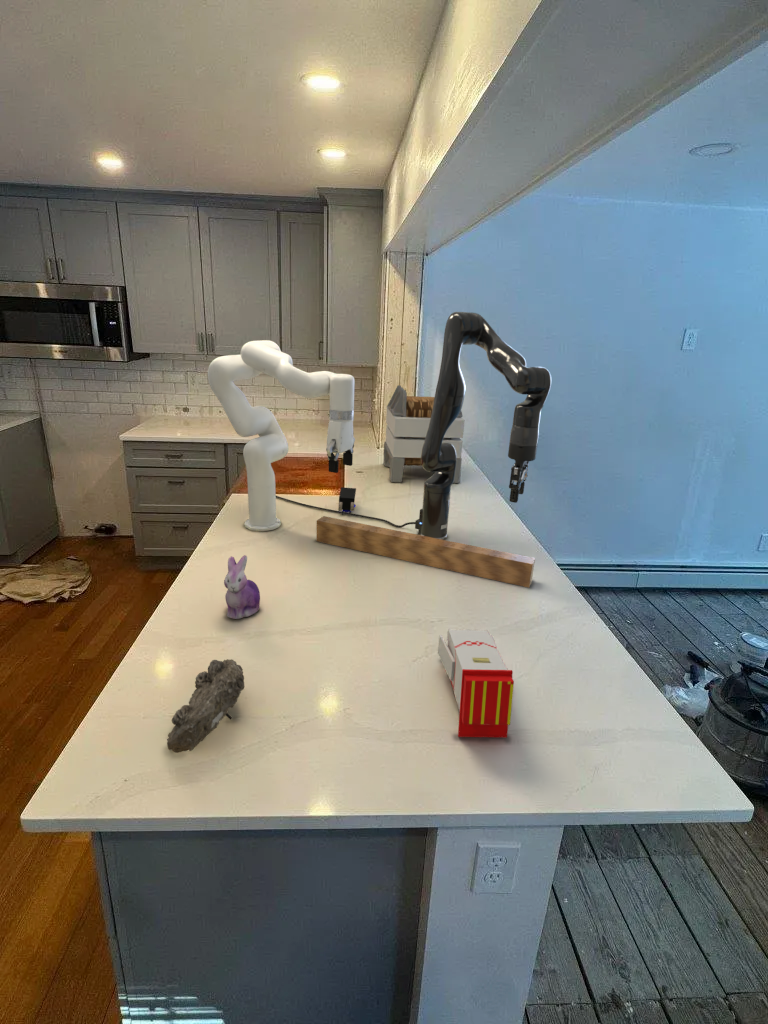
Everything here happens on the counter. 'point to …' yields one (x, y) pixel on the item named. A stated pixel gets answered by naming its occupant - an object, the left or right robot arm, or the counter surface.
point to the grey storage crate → (414, 433)
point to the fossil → (206, 705)
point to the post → (427, 551)
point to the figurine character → (347, 500)
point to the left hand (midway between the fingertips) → (340, 468)
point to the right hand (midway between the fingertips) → (516, 497)
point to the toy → (478, 682)
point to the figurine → (240, 591)
